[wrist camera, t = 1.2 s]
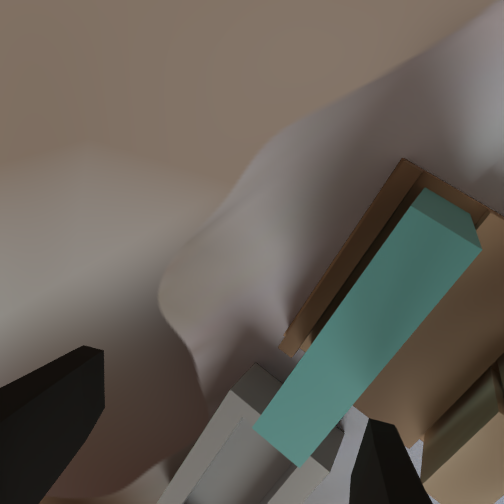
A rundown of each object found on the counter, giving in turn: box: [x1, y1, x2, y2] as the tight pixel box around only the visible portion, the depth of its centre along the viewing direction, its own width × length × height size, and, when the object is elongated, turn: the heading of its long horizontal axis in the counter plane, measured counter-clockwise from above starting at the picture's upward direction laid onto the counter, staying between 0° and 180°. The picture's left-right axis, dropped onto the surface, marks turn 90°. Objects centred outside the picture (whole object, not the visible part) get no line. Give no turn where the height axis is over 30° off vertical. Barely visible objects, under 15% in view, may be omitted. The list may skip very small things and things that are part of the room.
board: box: [252, 187, 482, 468], centre depth 15 cm, size 2×9×7 cm, turn 150°
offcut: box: [420, 366, 504, 504], centre depth 16 cm, size 2×4×4 cm, turn 150°
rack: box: [278, 158, 504, 449], centre depth 18 cm, size 10×10×2 cm
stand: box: [157, 363, 345, 504], centre depth 24 cm, size 6×12×3 cm, turn 150°
